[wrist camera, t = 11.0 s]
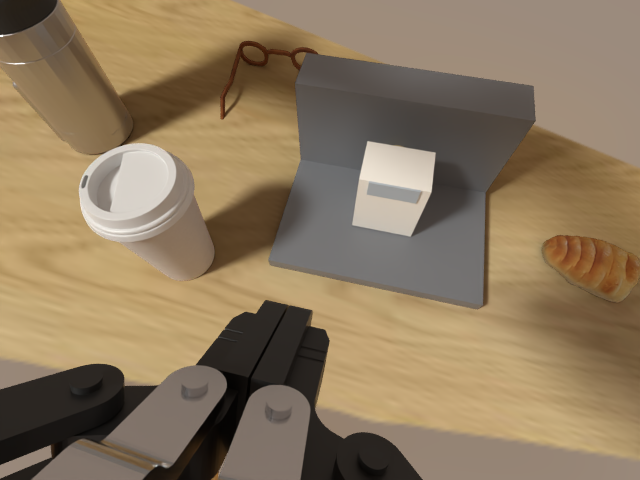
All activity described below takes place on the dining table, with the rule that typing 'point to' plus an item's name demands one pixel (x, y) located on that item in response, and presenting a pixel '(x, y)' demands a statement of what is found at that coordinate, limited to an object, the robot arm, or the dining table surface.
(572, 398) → the dining table surface
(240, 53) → the glasses
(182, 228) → the coffee cup
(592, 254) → the pastry
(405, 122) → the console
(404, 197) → the white box
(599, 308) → the dining table surface
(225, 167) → the dining table surface
